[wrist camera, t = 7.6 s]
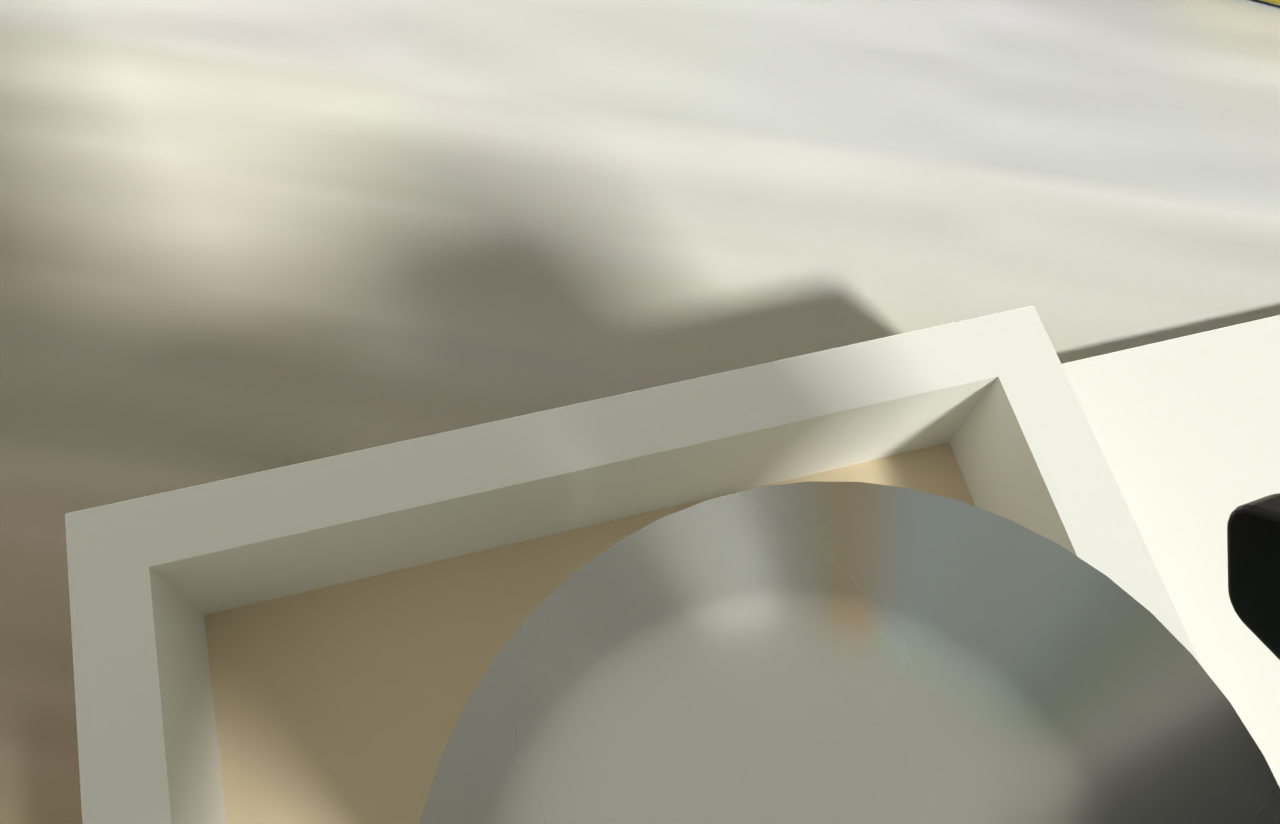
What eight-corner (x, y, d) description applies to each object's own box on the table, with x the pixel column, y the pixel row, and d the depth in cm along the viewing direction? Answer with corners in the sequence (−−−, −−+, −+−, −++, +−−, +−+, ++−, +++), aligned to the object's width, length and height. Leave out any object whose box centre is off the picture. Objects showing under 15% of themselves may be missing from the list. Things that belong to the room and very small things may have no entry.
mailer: (2246, 1031, 16) (2579, 1049, 14) (248, 1814, 12) (153, 2067, 9) (1655, 238, 22) (1806, 138, 19) (143, 579, 18) (64, 513, 15)
